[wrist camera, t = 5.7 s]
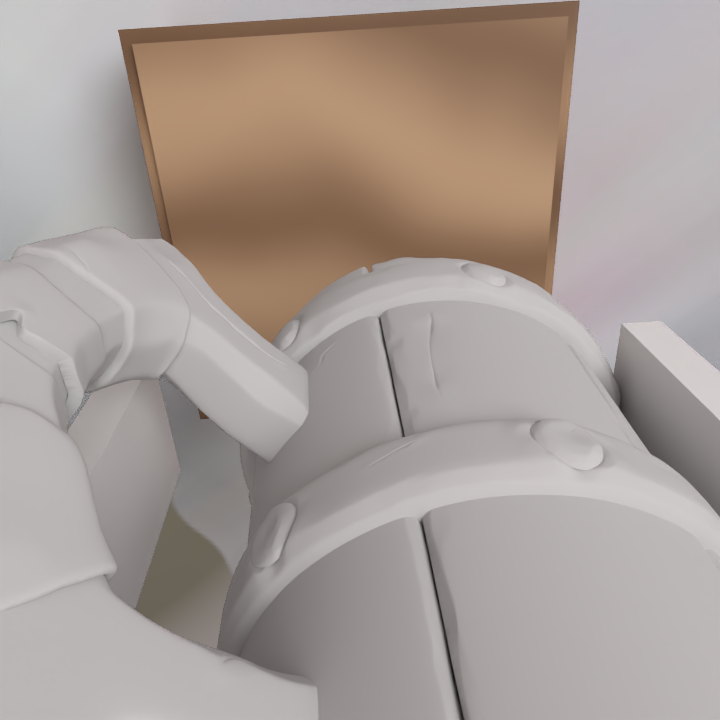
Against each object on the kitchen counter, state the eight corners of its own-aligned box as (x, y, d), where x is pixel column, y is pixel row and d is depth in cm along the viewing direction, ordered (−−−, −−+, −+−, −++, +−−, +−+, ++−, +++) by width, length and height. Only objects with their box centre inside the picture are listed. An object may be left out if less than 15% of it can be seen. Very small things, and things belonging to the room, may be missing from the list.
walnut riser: (504, 331, 31) (544, 397, 25) (222, 351, 31) (199, 423, 25) (524, 7, 24) (583, 0, 19) (163, 29, 24) (115, 29, 18)
